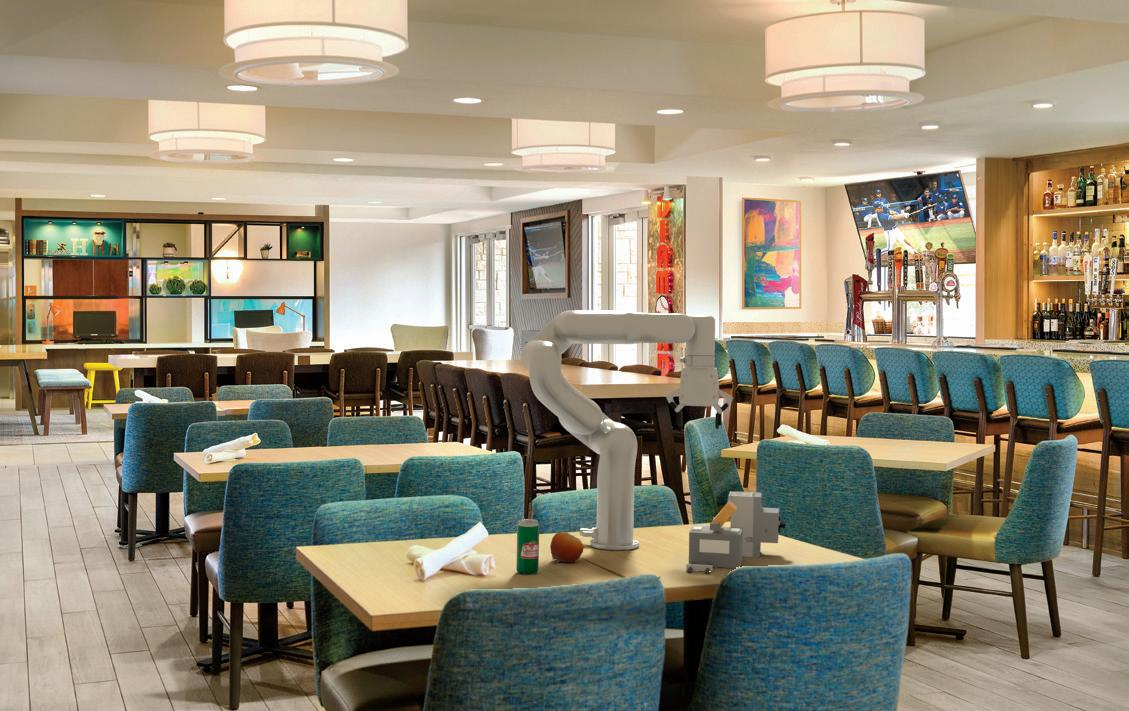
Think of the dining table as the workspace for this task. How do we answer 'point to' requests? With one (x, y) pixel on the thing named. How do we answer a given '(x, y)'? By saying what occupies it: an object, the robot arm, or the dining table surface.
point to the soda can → (527, 546)
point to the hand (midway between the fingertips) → (698, 427)
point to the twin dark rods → (698, 567)
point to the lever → (725, 513)
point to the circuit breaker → (754, 522)
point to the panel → (716, 545)
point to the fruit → (566, 547)
